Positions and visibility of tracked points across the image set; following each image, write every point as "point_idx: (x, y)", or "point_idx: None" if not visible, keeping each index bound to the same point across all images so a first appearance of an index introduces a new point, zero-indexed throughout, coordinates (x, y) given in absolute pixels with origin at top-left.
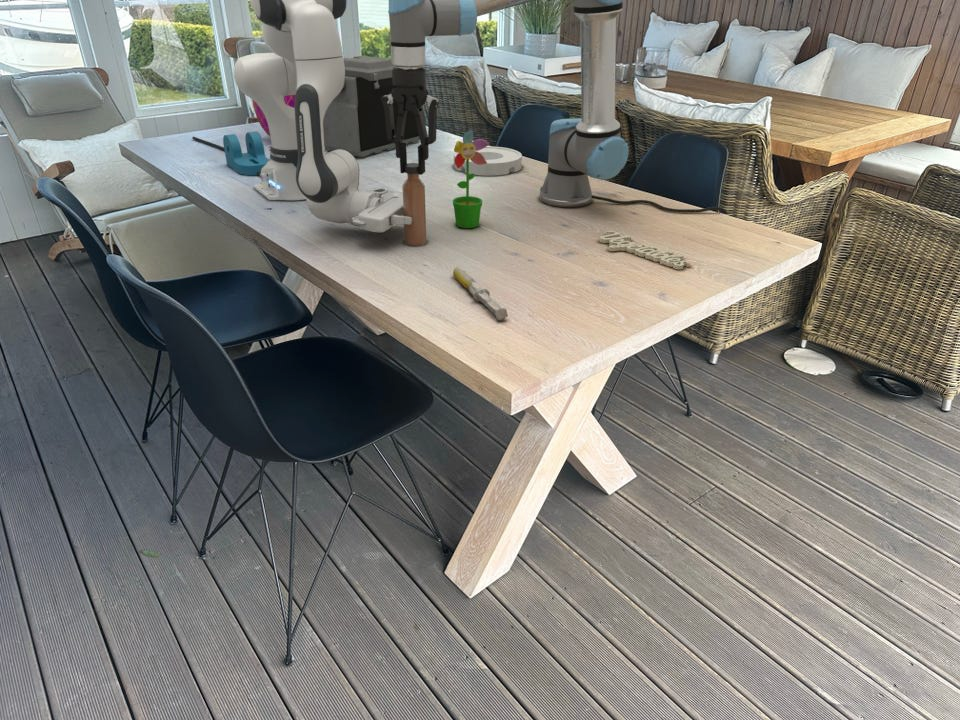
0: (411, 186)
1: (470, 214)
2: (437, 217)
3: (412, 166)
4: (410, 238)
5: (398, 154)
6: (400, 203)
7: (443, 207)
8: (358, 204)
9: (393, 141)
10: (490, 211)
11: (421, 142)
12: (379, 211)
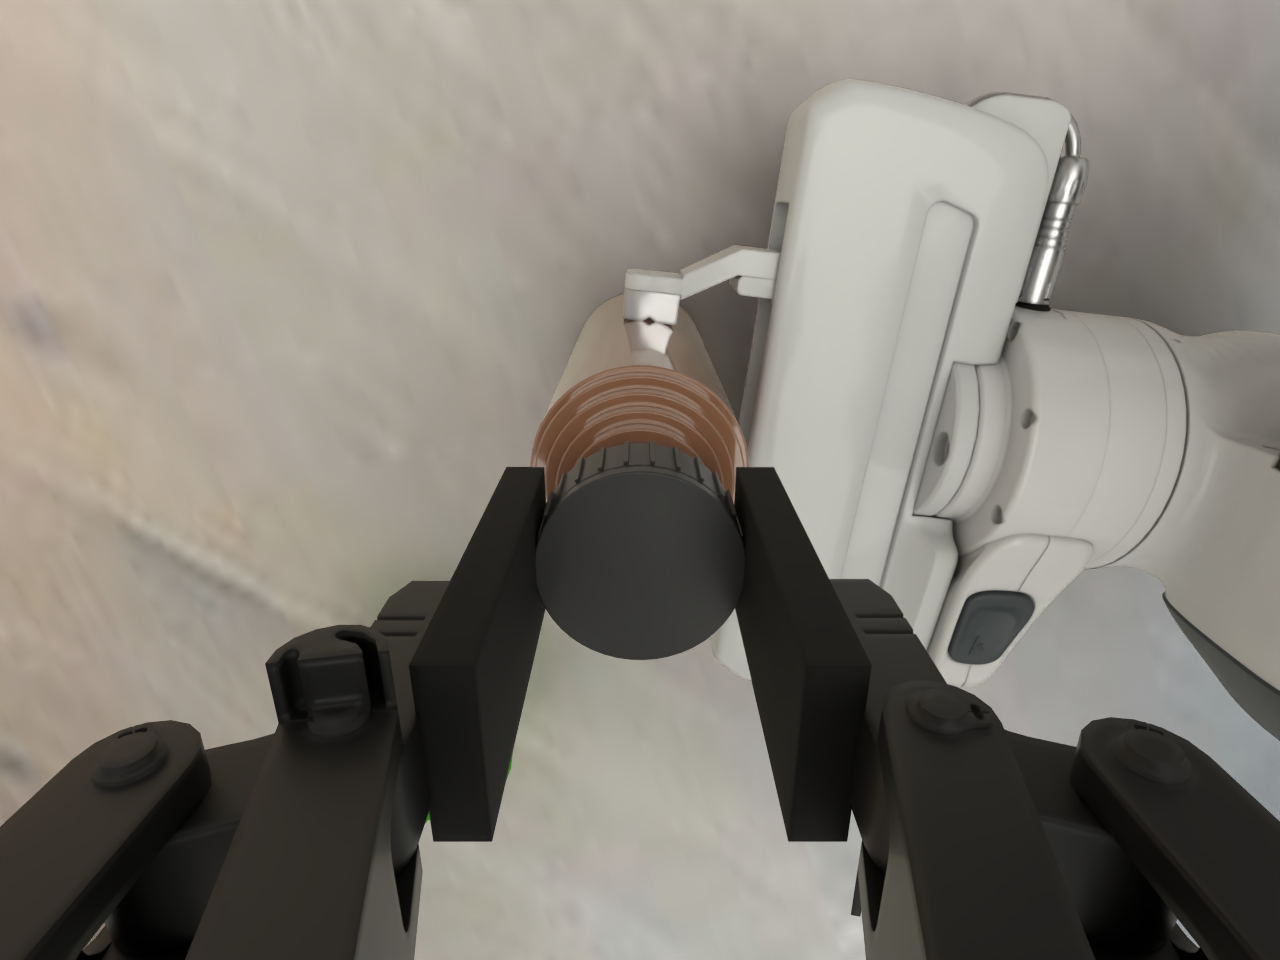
0: (627, 388)
1: None
2: (646, 721)
3: (619, 509)
4: None
5: (854, 606)
6: None
7: (661, 844)
8: (1093, 344)
9: (1027, 745)
10: (423, 847)
11: (368, 733)
12: (888, 270)
